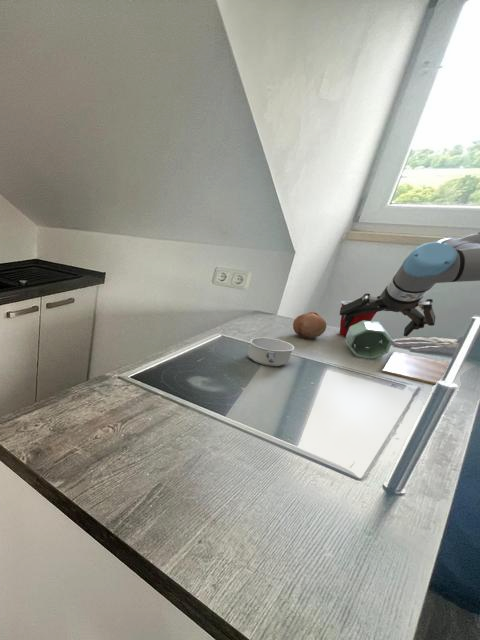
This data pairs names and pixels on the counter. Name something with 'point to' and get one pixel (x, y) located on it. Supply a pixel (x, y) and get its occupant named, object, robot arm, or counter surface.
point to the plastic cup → (356, 319)
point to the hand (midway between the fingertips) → (375, 328)
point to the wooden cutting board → (415, 367)
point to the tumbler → (368, 339)
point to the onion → (309, 325)
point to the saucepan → (270, 351)
